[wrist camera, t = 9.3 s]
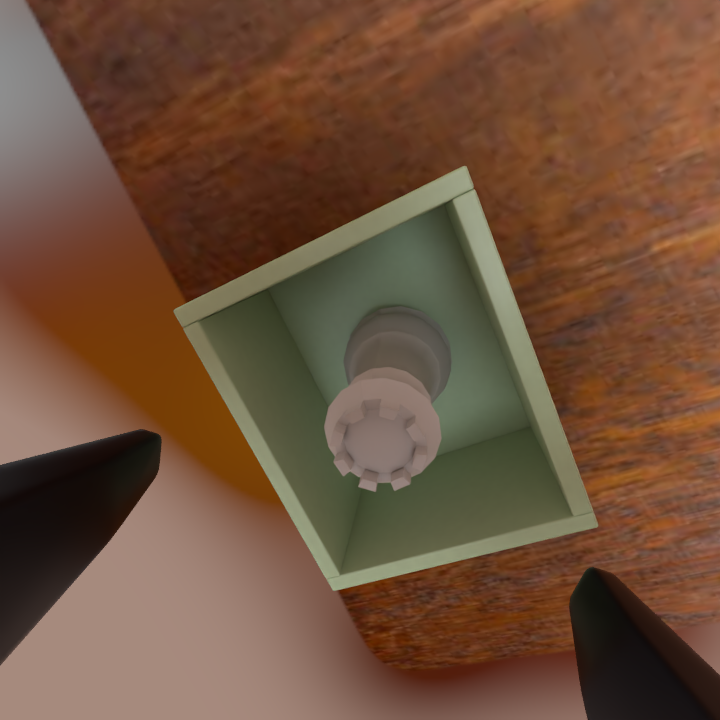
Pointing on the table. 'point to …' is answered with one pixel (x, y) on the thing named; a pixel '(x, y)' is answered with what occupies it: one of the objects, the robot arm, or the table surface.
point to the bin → (453, 406)
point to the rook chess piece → (389, 398)
